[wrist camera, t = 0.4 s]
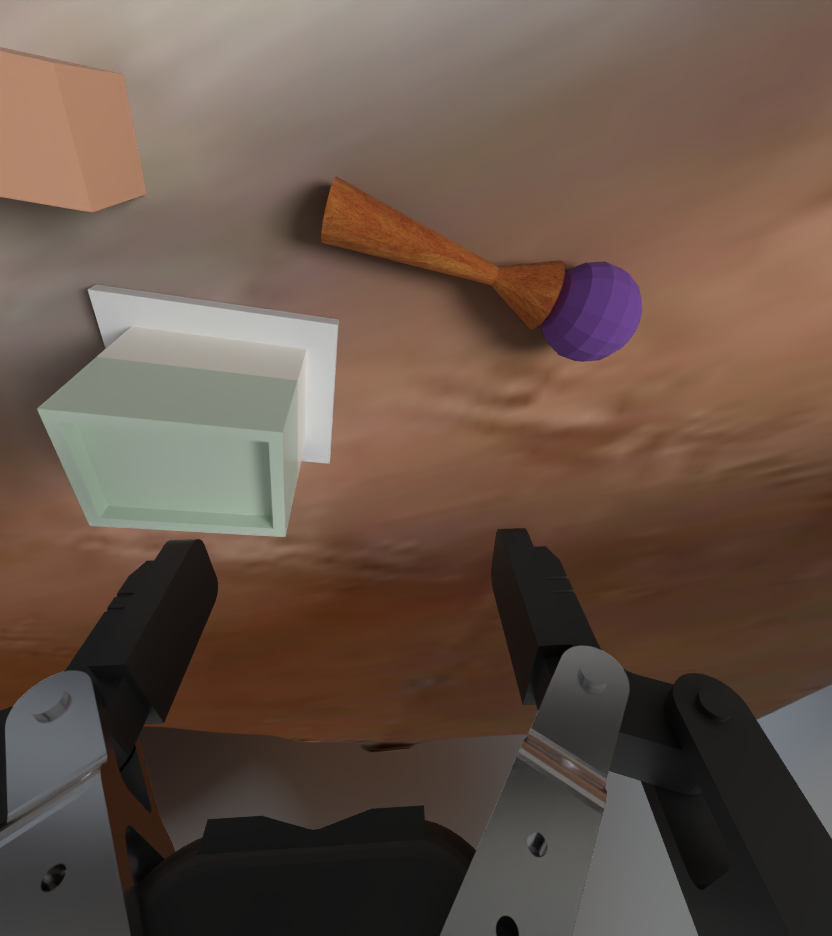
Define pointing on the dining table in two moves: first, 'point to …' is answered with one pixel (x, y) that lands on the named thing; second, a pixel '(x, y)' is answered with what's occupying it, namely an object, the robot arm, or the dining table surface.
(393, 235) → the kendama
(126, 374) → the mint open-top box
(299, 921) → the robot arm
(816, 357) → the dining table surface
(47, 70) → the brick
